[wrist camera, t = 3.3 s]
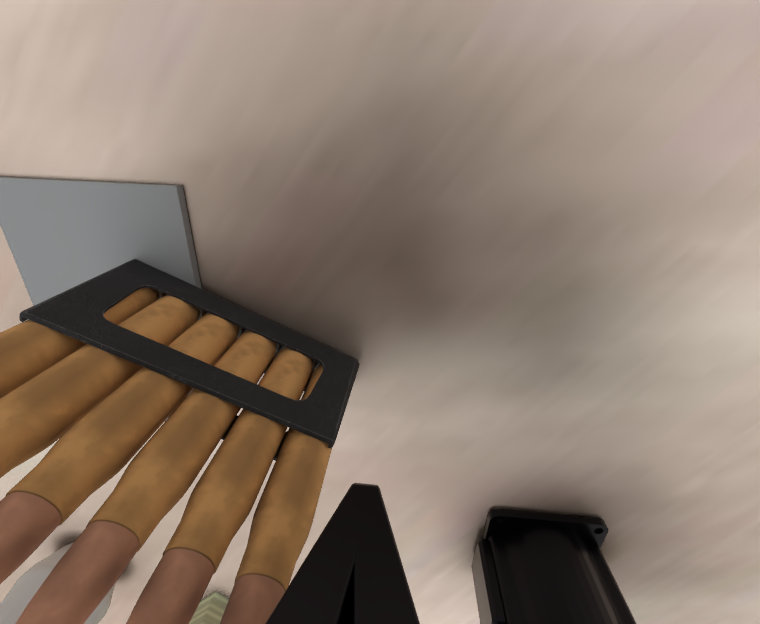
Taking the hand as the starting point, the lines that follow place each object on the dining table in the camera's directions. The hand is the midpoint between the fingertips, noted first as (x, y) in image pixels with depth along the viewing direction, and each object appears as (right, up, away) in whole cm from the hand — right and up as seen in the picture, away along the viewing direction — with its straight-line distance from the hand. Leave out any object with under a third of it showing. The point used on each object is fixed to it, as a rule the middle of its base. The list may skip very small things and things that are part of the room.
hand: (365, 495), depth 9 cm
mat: (-12, +4, +8) cm, 15 cm away
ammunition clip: (-6, +4, +8) cm, 10 cm away
